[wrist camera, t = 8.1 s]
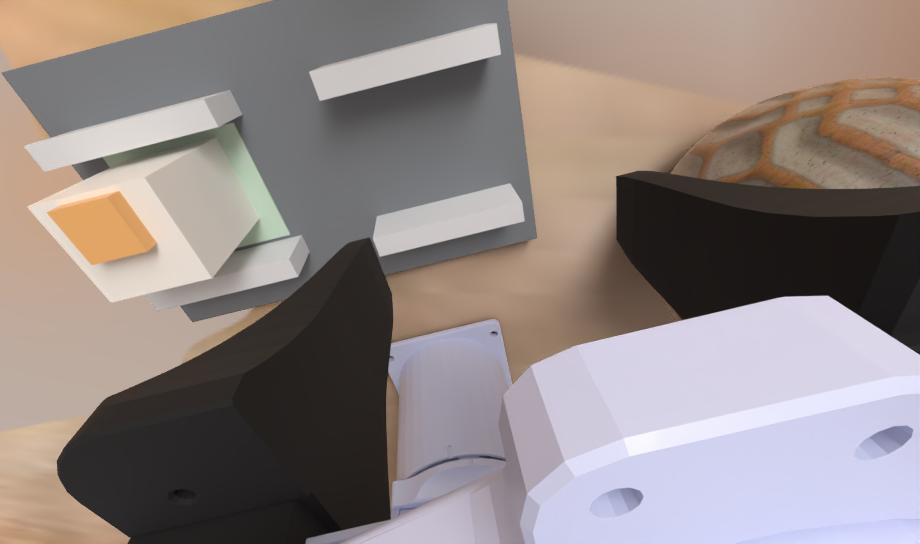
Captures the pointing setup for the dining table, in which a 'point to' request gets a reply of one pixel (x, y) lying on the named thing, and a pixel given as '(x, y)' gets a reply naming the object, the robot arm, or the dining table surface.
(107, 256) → the plug
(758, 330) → the robot arm
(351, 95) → the panel
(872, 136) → the vase
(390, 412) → the dining table surface
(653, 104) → the dining table surface
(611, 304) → the dining table surface
